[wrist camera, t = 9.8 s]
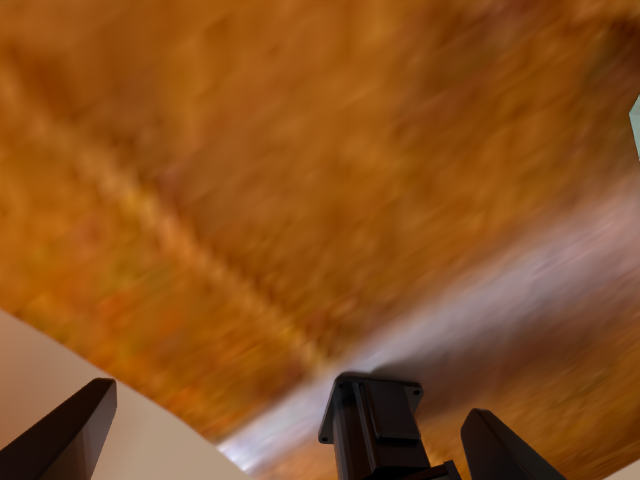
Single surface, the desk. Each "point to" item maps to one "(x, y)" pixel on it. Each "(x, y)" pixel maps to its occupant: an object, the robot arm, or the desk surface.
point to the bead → (636, 123)
